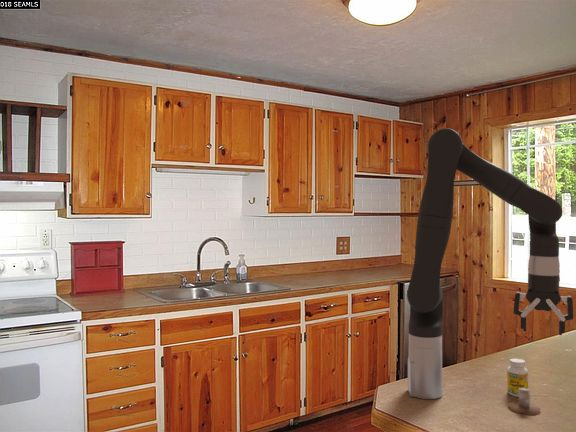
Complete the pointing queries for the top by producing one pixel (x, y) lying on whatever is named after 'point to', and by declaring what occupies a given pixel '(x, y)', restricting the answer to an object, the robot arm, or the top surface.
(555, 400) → the top surface
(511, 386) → the supplement bottle
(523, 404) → the lid
